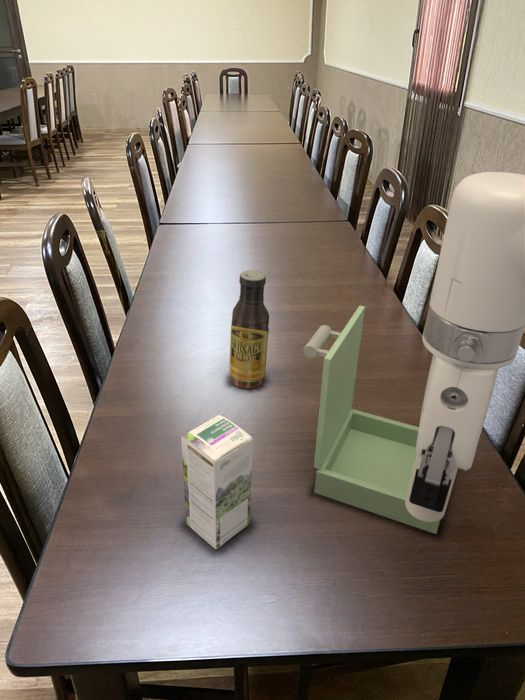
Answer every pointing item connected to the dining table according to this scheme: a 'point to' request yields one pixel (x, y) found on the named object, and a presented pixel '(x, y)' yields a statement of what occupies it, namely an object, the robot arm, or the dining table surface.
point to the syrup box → (217, 479)
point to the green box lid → (335, 379)
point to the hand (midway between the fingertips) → (430, 488)
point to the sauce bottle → (249, 332)
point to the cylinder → (420, 511)
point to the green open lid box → (372, 467)
